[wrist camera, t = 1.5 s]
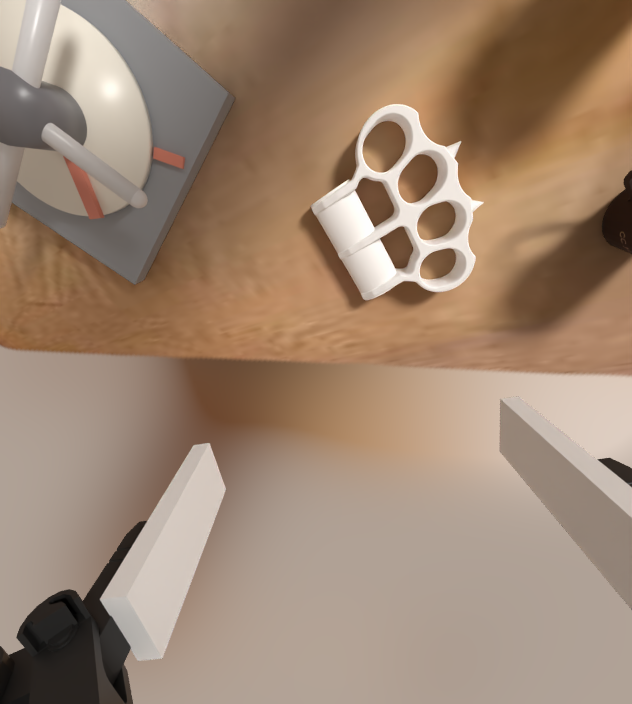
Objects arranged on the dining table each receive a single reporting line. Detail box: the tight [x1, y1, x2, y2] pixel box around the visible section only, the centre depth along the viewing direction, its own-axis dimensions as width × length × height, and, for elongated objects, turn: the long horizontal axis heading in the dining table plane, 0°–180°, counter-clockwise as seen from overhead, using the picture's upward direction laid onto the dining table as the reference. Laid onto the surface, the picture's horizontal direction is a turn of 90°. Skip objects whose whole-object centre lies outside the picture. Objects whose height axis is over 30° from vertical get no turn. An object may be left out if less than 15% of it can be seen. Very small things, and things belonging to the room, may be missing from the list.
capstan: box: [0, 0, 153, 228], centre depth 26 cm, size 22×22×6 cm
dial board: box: [12, 0, 235, 285], centre depth 30 cm, size 22×22×2 cm
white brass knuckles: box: [311, 104, 484, 300], centre depth 32 cm, size 3×18×15 cm
